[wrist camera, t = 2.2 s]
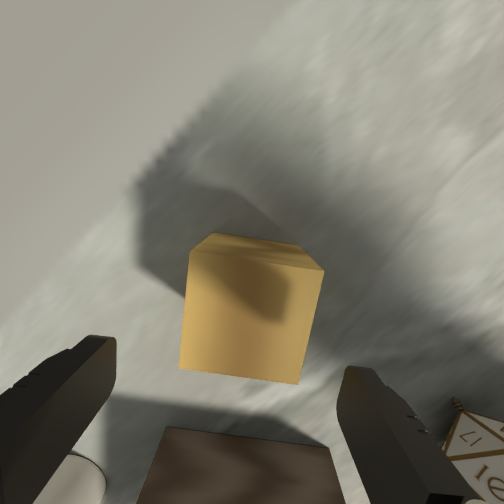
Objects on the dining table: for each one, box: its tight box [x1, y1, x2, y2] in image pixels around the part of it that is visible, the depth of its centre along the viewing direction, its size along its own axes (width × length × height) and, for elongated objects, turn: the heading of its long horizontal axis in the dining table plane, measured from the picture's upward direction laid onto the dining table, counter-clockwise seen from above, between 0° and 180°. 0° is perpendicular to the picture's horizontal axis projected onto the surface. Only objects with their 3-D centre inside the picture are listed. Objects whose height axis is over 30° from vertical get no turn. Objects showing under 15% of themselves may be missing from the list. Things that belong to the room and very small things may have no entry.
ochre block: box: [179, 232, 325, 385], centre depth 14 cm, size 6×6×6 cm
